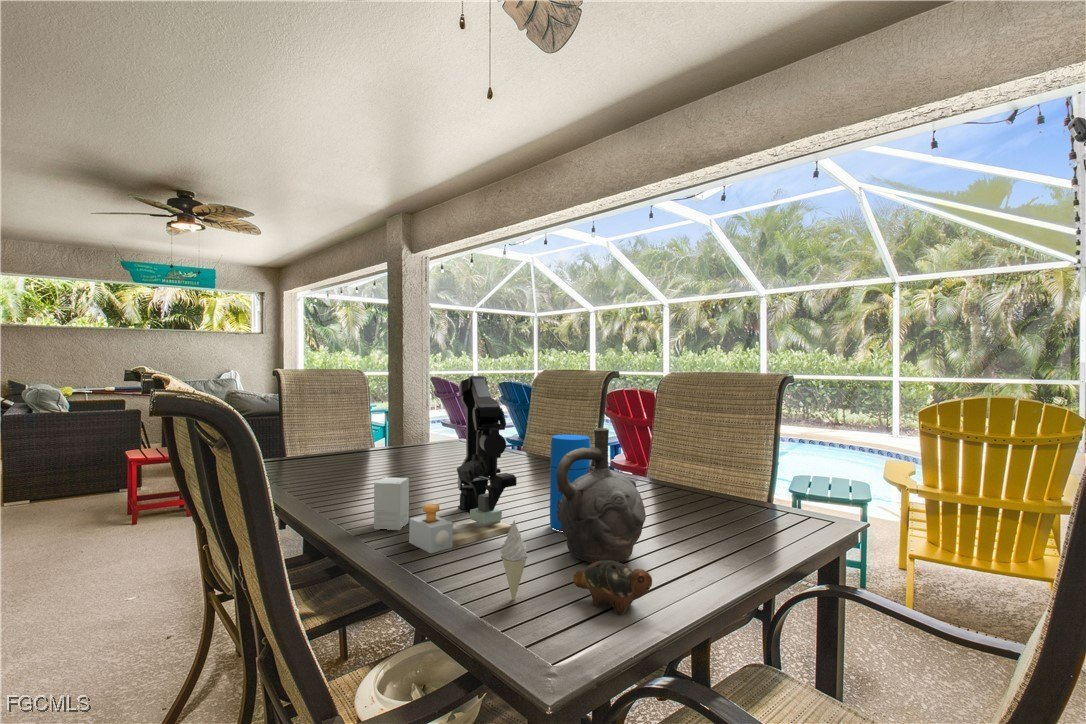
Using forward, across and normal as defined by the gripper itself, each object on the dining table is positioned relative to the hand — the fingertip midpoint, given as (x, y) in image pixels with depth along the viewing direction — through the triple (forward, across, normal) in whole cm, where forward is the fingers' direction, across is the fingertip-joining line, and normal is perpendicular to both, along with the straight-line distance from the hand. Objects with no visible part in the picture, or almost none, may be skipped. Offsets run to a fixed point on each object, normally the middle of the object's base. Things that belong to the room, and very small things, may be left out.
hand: (485, 508), depth 138 cm
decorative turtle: (+6, +50, -9) cm, 51 cm away
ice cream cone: (+6, +36, -21) cm, 42 cm away
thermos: (+6, +13, +19) cm, 24 cm away
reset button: (0, 0, -17) cm, 17 cm away
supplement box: (+6, -20, -17) cm, 27 cm away
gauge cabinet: (+6, 0, -17) cm, 18 cm away
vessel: (+6, +32, +8) cm, 34 cm away
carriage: (+3, 0, 0) cm, 3 cm away
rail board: (+6, 0, -4) cm, 8 cm away
